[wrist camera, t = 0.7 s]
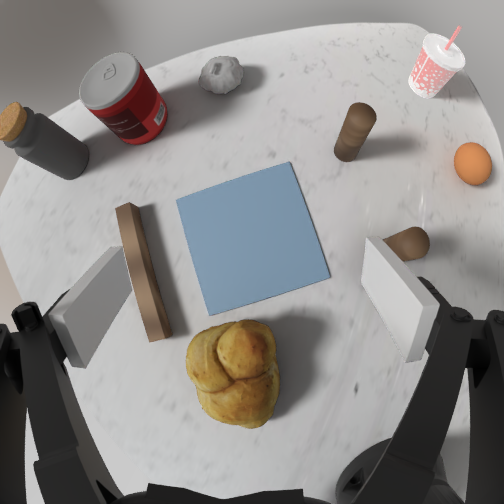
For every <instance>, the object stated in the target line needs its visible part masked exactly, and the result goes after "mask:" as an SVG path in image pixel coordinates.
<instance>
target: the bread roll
mask: <svg viewBox="0 0 504 504" xmlns="http://www.w3.org/2000/svg"><path fill="white" fill-rule="evenodd" d="M275 354H276V343H275V339H274V336H273V334H272V332H271V330H270V328H269V327H268V326H267V325H265V324H261V323H259V322H257V321H254V320H241V321H239V322H229V323H225V324H222V325H219V326H214V327H213V326H212V327H210V328H209V329H206V330H203V331H202V332H200V333H199V334H197V335H196V336H195V337H194V338H193V339H192V341H191V343H190V344H189V346H188V349H187V356H186V368H187V373H188V375H189V377H190V379H191V380H192V382H193V383H194V384H195V386H196V389H197V395H198V399H199V402H200V404H201V405H202V409H204V411H205V412H206V413H207V414H208V415H209V416H210V417H212V418H213V419H215V420H217V421H220V422H222V423H227V424H231V425H239V426H242V427H245V428H249V429H253V428H258V427H260V426H262V425H264V424H265V423H266V422H267V421H268V419H269V418H270V417H271V416H272V415H273V411H274V405H275V404H276V400H277V398H278V396H279V391H280V375H279V369H278V364H277V358H276V355H275Z"/></svg>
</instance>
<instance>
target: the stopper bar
mask: <svg viewBox="0 0 504 504" xmlns="http://www.w3.org/2000/svg"><path fill="white" fill-rule="evenodd" d="M115 209H116V214H117V220H118V225H119V229H120V234H121V239H122V243H123V248H124V252H125V256H126V261H127V265H128V269H129V273H130V277H131V281H132V284H133V288H134V292H135V296H136V299H137V303H138V306H139V310H140V313H141V316H142V320H143V323H144V326H145V330H146V333H147V336H148V339H149V342H154V341H158V340H162V339H165V338H167V337H170V336H172V335H173V334H172V331H171V328H170V325H169V322H168V318H167V315H166V312H165V309H164V305H163V302H162V298H161V295H160V292H159V288H158V285H157V281H156V277H155V274H154V270H153V266H152V262H151V259H150V255H149V251H148V247H147V243H146V239H145V234H144V230H143V226H142V221H141V217H140V212H139V208H138V207H137V206H135V205H134V204H132V203H130V202H129V203H126V204H124V205H122V206H119V207H117V208H115Z"/></svg>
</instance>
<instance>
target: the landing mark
mask: <svg viewBox="0 0 504 504" xmlns="http://www.w3.org/2000/svg"><path fill="white" fill-rule="evenodd" d="M176 202H177V206H178V210H179V213H180V217H181V221H182V225H183V228H184V232H185V236H186V239H187V243H188V246H189V250H190V253H191V257H192V260H193V264H194V267H195V271H196V274H197V277H198V281H199V284H200V287H201V291H202V294H203V297H204V300H205V304H206V307H207V310H208V313H209V316H210V315H214V314H217V313H221V312H224V311H227V310H231V309H234V308H237V307H240V306H244V305H247V304H250V303H253V302H257V301H260V300H263V299H266V298H269V297H273V296H276V295H279V294H282V293H285V292H288V291H291V290H294V289H297V288H300V287H303V286H306V285H309V284H312V283H315V282H318V281H321V280H324V279H327V278H330V275H329V272H328V269H327V266H326V263H325V260H324V257H323V254H322V251H321V248H320V245H319V242H318V239H317V236H316V233H315V230H314V227H313V224H312V222H311V219H310V216H309V213H308V210H307V208H306V205H305V202H304V199H303V197H302V194H301V191H300V188H299V186H298V183H297V180H296V178H295V175H294V173H293V170H292V167H291V165H290V162H287V163H283V164H280V165H277V166H273V167H270V168H267V169H264V170H261V171H258V172H254V173H251V174H248V175H245V176H242V177H239V178H236V179H233V180H230V181H227V182H224V183H221V184H219V185H216V186H213V187H210V188H207V189H204V190H202V191H199V192H196V193H193V194H190V195H188V196H185V197H182V198H180V199H177V200H176Z"/></svg>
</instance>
